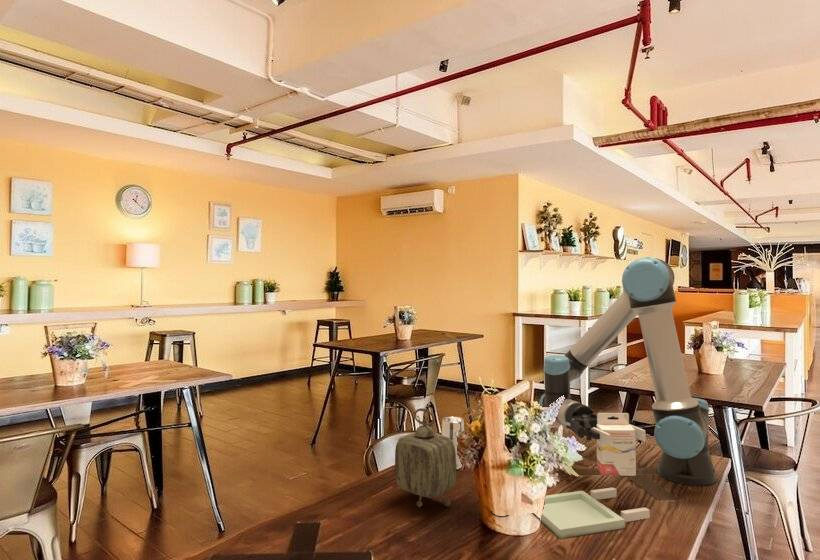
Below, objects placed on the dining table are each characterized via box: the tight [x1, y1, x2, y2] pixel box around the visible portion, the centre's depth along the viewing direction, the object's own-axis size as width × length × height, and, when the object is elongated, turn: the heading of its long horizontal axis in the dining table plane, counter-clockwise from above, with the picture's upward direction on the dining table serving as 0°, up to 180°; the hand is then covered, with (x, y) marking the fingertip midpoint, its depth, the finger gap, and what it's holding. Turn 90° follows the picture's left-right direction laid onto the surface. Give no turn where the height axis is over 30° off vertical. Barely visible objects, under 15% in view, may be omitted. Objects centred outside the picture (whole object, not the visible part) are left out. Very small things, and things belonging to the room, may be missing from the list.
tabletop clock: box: [394, 407, 457, 508], centre depth 136 cm, size 14×9×25 cm, turn 48°
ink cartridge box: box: [596, 412, 637, 477], centre depth 133 cm, size 9×5×15 cm, turn 84°
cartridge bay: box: [589, 486, 651, 523], centre depth 133 cm, size 7×14×2 cm, turn 15°
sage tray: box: [541, 490, 626, 539], centre depth 128 cm, size 17×17×2 cm
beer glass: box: [441, 416, 465, 469], centre depth 161 cm, size 7×7×15 cm
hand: (627, 438), depth 128 cm, fingers closed on ink cartridge box, 9 cm apart
